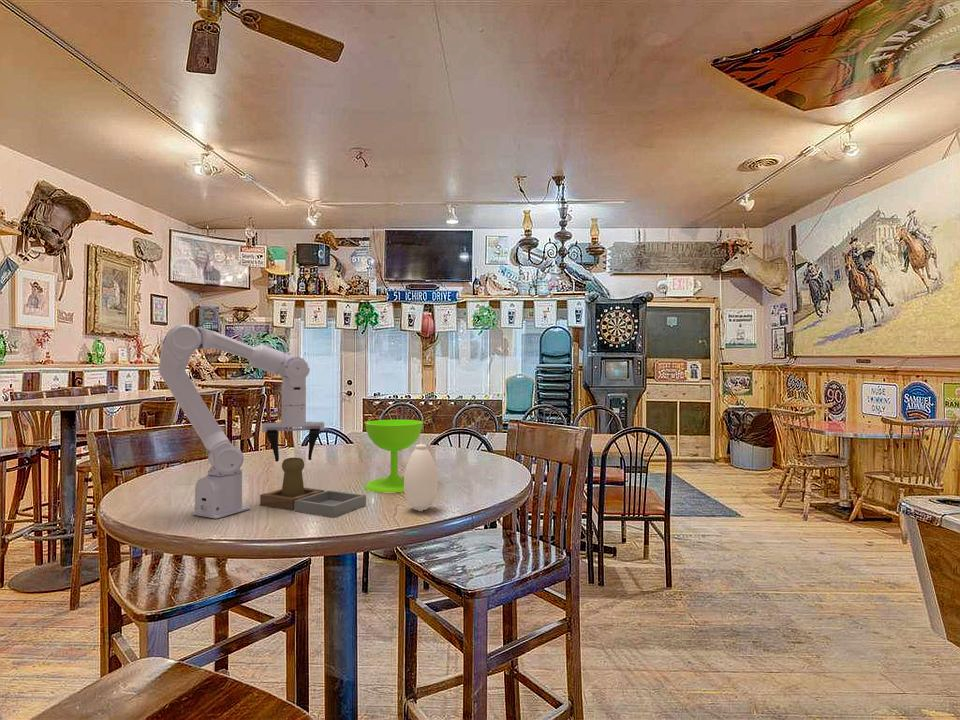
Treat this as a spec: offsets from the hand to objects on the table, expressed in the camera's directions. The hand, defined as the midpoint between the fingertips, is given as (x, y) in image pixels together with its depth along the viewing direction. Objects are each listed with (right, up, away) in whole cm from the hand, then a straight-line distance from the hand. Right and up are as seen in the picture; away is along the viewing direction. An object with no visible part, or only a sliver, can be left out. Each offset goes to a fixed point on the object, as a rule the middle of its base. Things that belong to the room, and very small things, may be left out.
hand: (293, 460), depth 133 cm
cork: (0, -11, -1) cm, 11 cm away
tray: (+11, -10, -6) cm, 16 cm away
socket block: (0, -10, -1) cm, 10 cm away
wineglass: (+22, -11, +18) cm, 30 cm away
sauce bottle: (+32, -11, -7) cm, 35 cm away
